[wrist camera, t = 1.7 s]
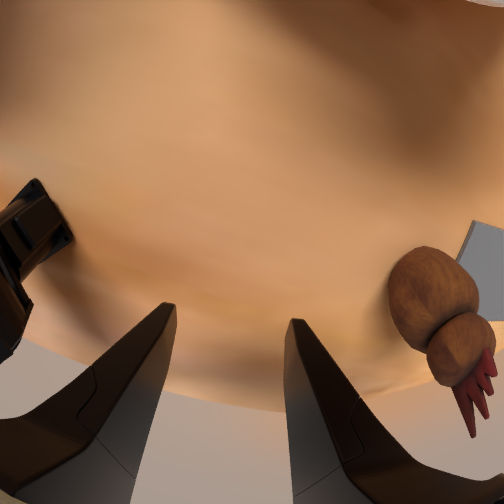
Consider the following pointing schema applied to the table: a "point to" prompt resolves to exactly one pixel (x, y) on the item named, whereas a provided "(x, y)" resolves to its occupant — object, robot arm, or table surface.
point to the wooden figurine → (445, 325)
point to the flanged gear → (489, 2)
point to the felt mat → (485, 267)
